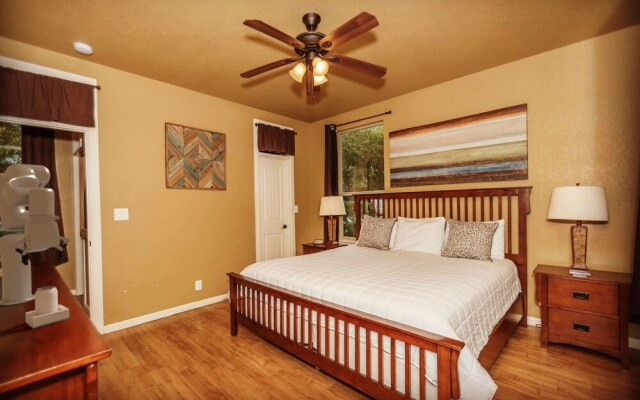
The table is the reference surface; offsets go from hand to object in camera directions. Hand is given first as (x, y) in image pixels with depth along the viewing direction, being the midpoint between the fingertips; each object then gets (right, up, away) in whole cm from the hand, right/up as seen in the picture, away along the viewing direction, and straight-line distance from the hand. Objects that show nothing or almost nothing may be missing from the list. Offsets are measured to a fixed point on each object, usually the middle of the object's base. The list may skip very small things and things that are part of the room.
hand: (42, 262), depth 120 cm
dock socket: (+5, -22, -3) cm, 23 cm away
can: (+5, -21, -3) cm, 22 cm away
